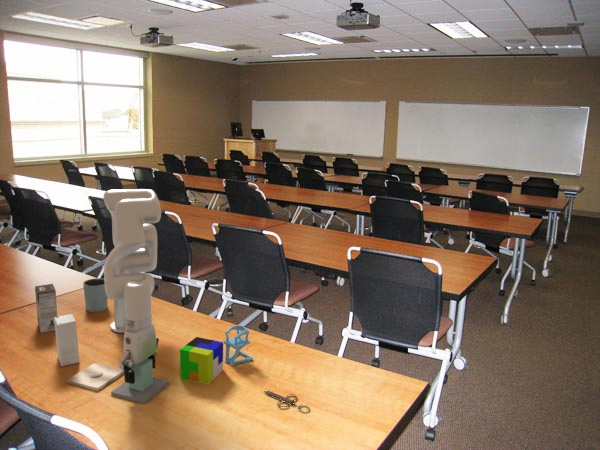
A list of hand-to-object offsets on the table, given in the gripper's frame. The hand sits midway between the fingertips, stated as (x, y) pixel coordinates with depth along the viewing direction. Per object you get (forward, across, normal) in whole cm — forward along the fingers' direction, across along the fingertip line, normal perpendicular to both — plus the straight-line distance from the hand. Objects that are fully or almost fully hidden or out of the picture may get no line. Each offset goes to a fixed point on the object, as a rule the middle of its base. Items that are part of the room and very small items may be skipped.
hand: (140, 374), depth 147 cm
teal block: (+4, 0, 0) cm, 4 cm away
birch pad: (+5, 0, +17) cm, 18 cm away
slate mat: (+5, 0, 0) cm, 5 cm away
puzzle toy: (+5, +16, -12) cm, 20 cm away
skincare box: (+5, +6, +34) cm, 35 cm away
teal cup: (+5, +46, +58) cm, 74 cm away
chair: (+5, +28, -18) cm, 34 cm away
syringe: (+6, +12, -42) cm, 44 cm away
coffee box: (+5, +22, +61) cm, 65 cm away
